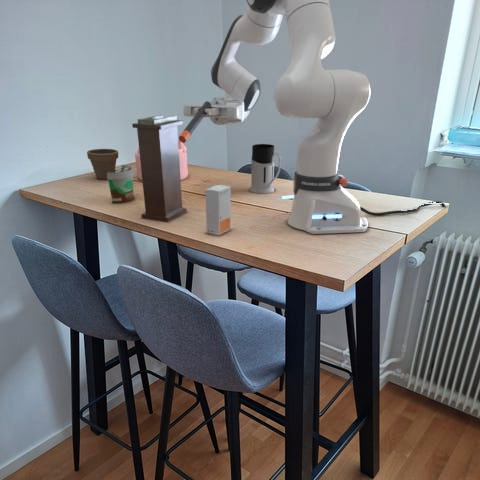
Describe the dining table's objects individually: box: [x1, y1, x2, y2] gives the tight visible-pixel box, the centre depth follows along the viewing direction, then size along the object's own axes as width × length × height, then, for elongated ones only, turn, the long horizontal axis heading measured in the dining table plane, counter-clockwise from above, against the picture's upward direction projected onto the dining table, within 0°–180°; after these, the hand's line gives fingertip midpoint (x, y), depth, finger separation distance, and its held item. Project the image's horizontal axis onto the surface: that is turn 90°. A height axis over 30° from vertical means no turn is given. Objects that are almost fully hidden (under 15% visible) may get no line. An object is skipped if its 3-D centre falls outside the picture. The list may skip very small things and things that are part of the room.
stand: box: [131, 114, 188, 223], centre depth 135 cm, size 12×9×27 cm
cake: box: [134, 139, 189, 181], centre depth 180 cm, size 20×20×14 cm
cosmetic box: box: [205, 184, 232, 236], centre depth 125 cm, size 6×4×12 cm
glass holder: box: [249, 143, 282, 194], centre depth 161 cm, size 9×14×15 cm, turn 33°
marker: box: [178, 100, 211, 144], centre depth 146 cm, size 19×2×2 cm, turn 155°
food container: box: [107, 164, 135, 204], centre depth 153 cm, size 12×6×10 cm, turn 168°
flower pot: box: [86, 148, 119, 181], centre depth 180 cm, size 12×11×10 cm
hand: (201, 111), depth 148 cm, fingers closed on marker, 2 cm apart
